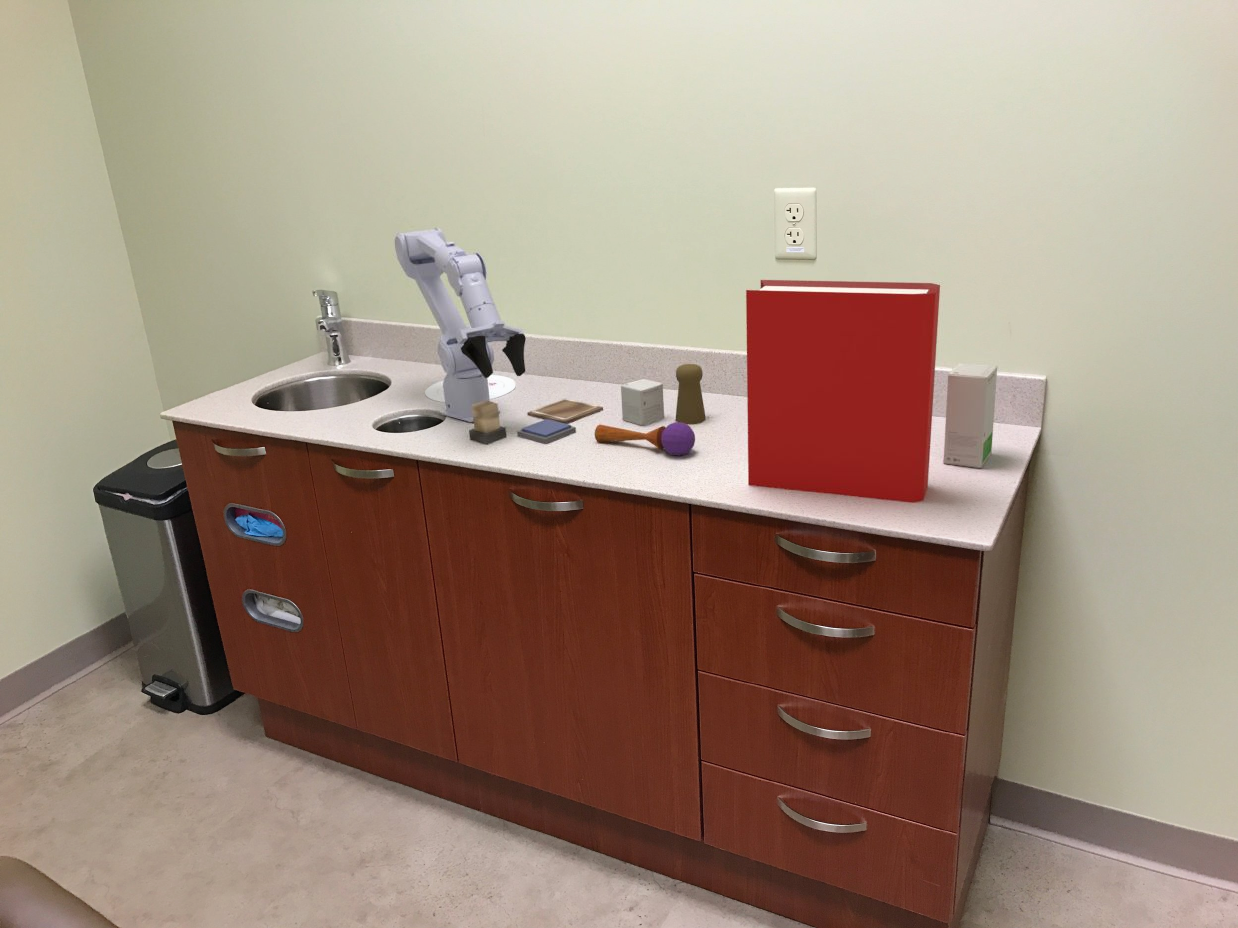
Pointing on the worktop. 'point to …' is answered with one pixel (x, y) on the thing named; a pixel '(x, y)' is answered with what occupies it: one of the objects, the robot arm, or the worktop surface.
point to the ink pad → (546, 431)
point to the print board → (565, 411)
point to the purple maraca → (653, 437)
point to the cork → (689, 395)
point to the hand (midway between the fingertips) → (505, 374)
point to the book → (841, 386)
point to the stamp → (486, 423)
